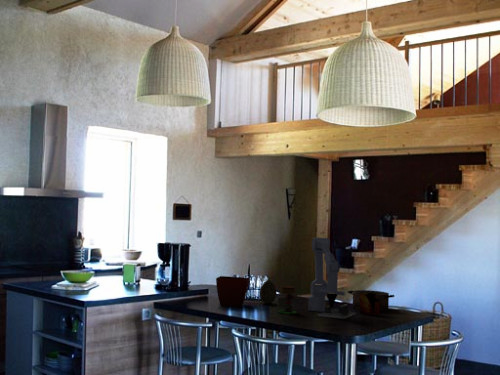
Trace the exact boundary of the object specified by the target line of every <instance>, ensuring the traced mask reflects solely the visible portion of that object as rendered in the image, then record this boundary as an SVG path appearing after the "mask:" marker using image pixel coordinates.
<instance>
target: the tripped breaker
mask: <svg viewBox="0 0 500 375" xmlns="http://www.w3.org/2000/svg"><path fill="white" fill-rule="evenodd" d="M331 310H332V307H330V305H326V306H325V311H324V312H325V313H331Z"/></svg>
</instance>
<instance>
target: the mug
mask: <svg viewBox="0 0 500 375" xmlns="http://www.w3.org/2000/svg"><path fill="white" fill-rule="evenodd" d="M376 302H377V311H376ZM358 313H359V315H363V316H375V315H380V312H379V299H376V294H374V293H360V306H359V310H358Z"/></svg>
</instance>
